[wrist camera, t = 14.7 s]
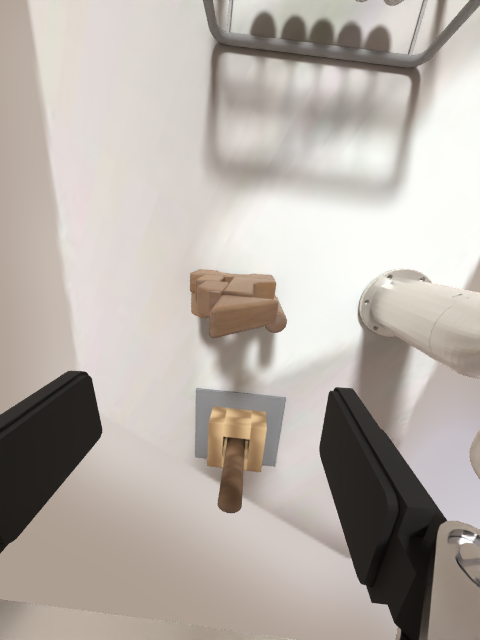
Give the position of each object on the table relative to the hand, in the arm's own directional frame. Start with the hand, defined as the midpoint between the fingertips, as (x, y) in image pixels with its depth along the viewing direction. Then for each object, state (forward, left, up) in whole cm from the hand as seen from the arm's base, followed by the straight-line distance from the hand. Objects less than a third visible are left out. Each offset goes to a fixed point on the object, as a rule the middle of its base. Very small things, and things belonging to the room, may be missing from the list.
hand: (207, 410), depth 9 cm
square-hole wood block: (-1, +35, -34) cm, 49 cm away
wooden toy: (+1, +2, -35) cm, 35 cm away
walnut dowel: (-1, +35, -34) cm, 49 cm away
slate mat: (-1, +35, -35) cm, 49 cm away
